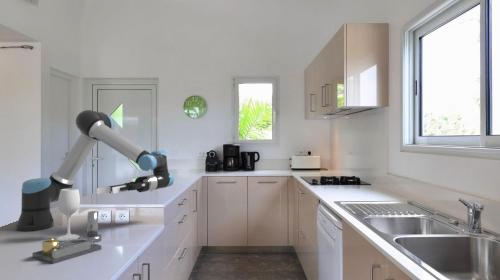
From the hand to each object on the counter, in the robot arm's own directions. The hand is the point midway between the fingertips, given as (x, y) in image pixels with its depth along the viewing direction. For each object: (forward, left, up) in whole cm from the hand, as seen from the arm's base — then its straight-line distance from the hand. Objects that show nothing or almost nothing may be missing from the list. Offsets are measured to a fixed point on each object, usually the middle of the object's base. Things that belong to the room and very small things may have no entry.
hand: (104, 191), depth 140 cm
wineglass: (-11, -9, -20) cm, 25 cm away
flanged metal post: (+1, -6, -20) cm, 21 cm away
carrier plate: (+8, -20, -20) cm, 30 cm away
